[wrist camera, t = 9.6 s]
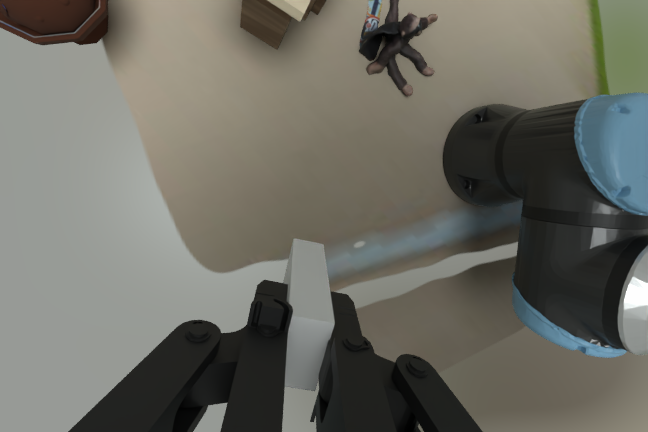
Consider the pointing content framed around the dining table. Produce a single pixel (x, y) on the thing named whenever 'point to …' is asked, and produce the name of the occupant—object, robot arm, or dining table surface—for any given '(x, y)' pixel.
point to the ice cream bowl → (55, 20)
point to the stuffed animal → (393, 41)
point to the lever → (292, 7)
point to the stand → (270, 19)
